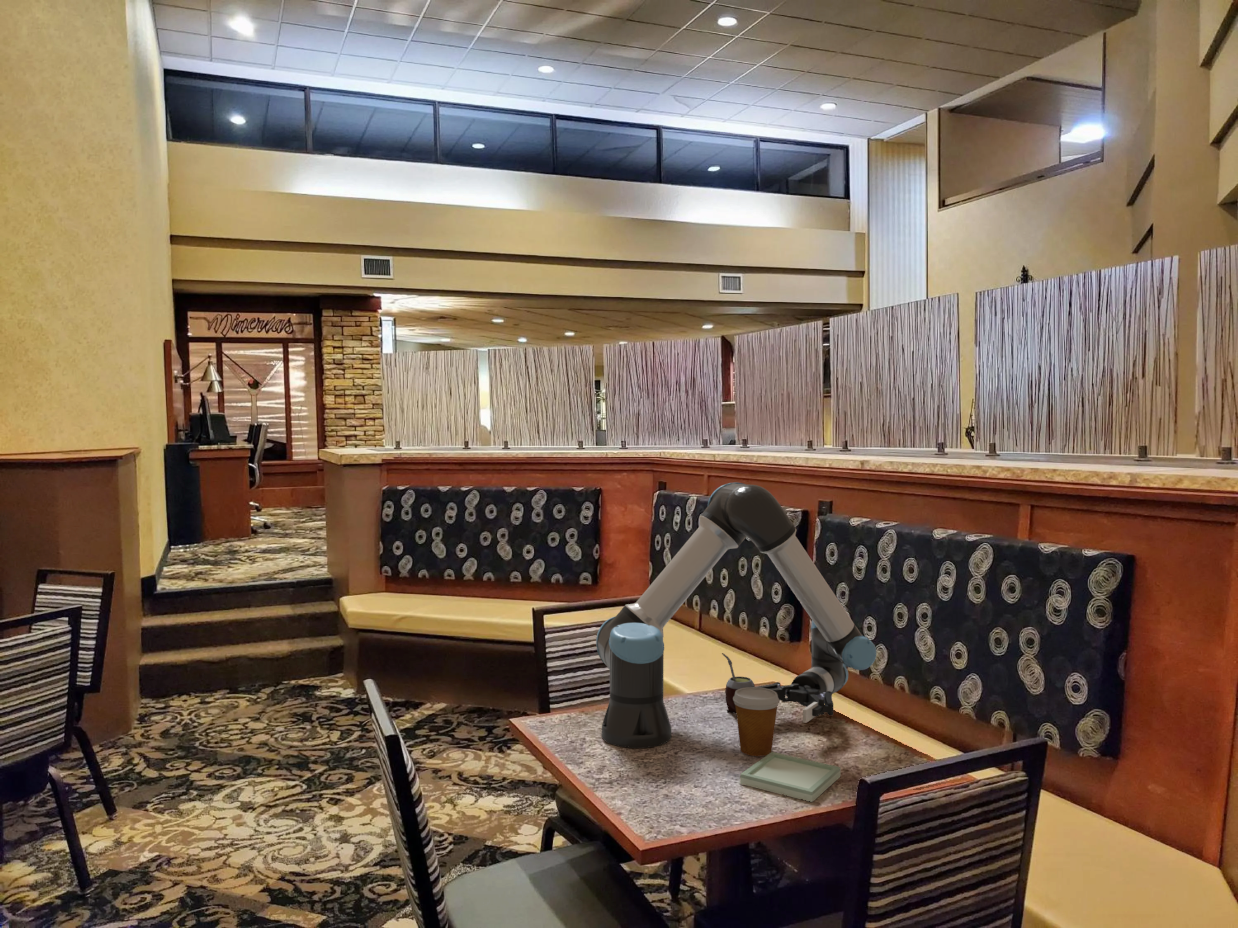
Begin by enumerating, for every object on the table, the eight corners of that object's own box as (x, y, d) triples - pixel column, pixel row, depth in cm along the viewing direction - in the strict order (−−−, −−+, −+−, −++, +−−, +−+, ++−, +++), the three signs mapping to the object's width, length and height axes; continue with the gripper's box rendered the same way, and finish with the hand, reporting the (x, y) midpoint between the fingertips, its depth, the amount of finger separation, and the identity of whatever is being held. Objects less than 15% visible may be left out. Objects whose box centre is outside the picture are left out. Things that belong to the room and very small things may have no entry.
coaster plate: (740, 783, 153) (740, 773, 153) (772, 760, 164) (772, 751, 164) (811, 802, 144) (812, 791, 144) (840, 776, 156) (840, 767, 156)
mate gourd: (756, 709, 197) (756, 647, 197) (754, 719, 189) (754, 654, 189) (725, 707, 198) (725, 645, 198) (721, 717, 191) (721, 653, 191)
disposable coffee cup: (779, 761, 164) (779, 701, 164) (731, 757, 166) (731, 698, 165) (779, 744, 173) (779, 687, 173) (734, 741, 175) (734, 685, 175)
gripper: (864, 712, 186) (830, 739, 169) (763, 693, 200) (722, 716, 183) (864, 679, 186) (830, 702, 169) (763, 663, 200) (722, 683, 183)
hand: (774, 710), depth 176 cm, fingers open, 13 cm apart
